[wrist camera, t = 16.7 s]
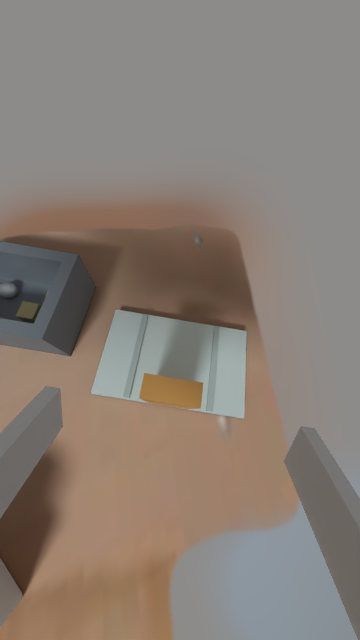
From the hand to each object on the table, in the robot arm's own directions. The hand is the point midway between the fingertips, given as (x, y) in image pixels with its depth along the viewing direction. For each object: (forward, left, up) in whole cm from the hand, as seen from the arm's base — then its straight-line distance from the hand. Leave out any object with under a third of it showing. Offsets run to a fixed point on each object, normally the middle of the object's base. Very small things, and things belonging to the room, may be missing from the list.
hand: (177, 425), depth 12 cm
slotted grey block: (0, +7, -18) cm, 20 cm away
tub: (-26, +12, -18) cm, 34 cm away
